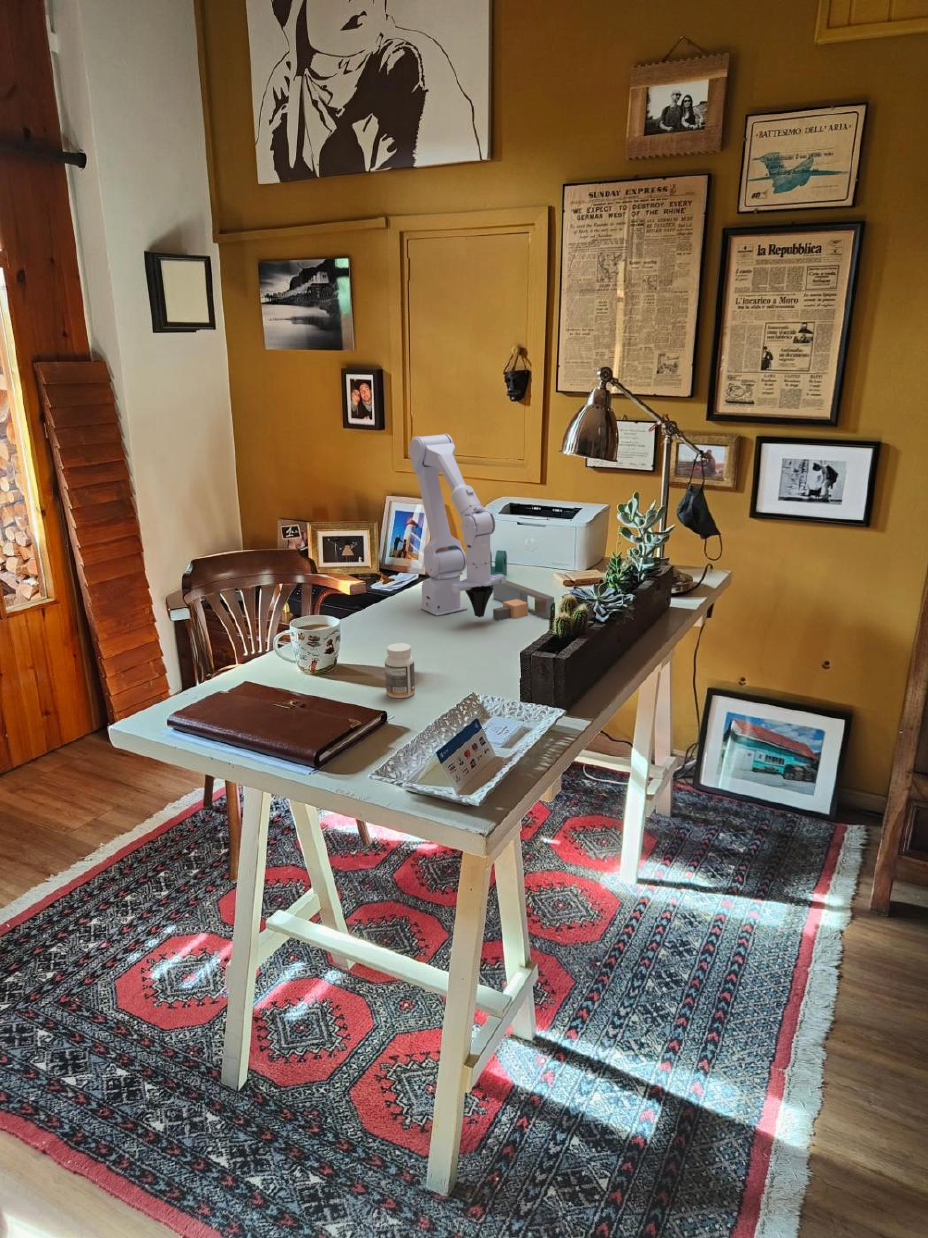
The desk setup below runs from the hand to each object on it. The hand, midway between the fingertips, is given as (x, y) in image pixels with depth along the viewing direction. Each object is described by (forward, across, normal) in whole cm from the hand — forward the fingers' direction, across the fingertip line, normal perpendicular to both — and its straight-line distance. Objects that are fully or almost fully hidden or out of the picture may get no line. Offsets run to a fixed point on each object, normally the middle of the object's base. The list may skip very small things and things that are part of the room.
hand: (479, 615), depth 217 cm
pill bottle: (+2, -38, -26) cm, 46 cm away
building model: (+2, +16, +4) cm, 17 cm away
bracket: (+2, +24, +29) cm, 37 cm away
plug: (+2, +9, 0) cm, 9 cm away
